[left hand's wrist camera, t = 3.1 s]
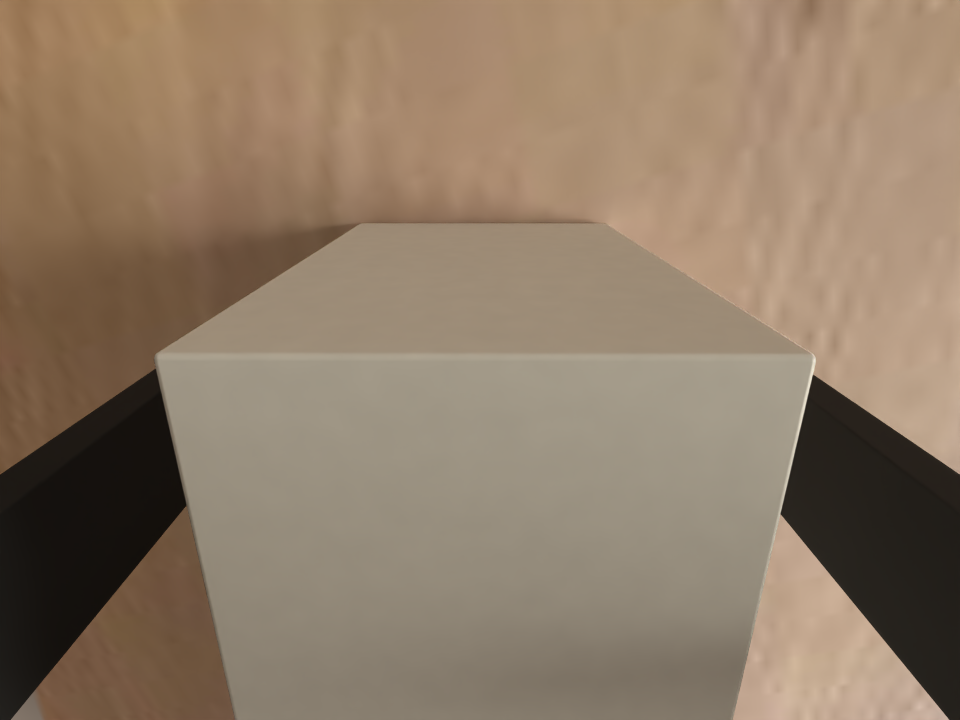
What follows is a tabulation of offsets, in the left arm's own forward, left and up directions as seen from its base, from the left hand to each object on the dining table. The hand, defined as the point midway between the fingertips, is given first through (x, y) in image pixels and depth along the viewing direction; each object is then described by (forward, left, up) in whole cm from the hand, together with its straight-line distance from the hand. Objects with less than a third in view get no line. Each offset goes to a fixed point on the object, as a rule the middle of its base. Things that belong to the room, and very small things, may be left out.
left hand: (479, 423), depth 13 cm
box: (+8, +2, -3) cm, 8 cm away
